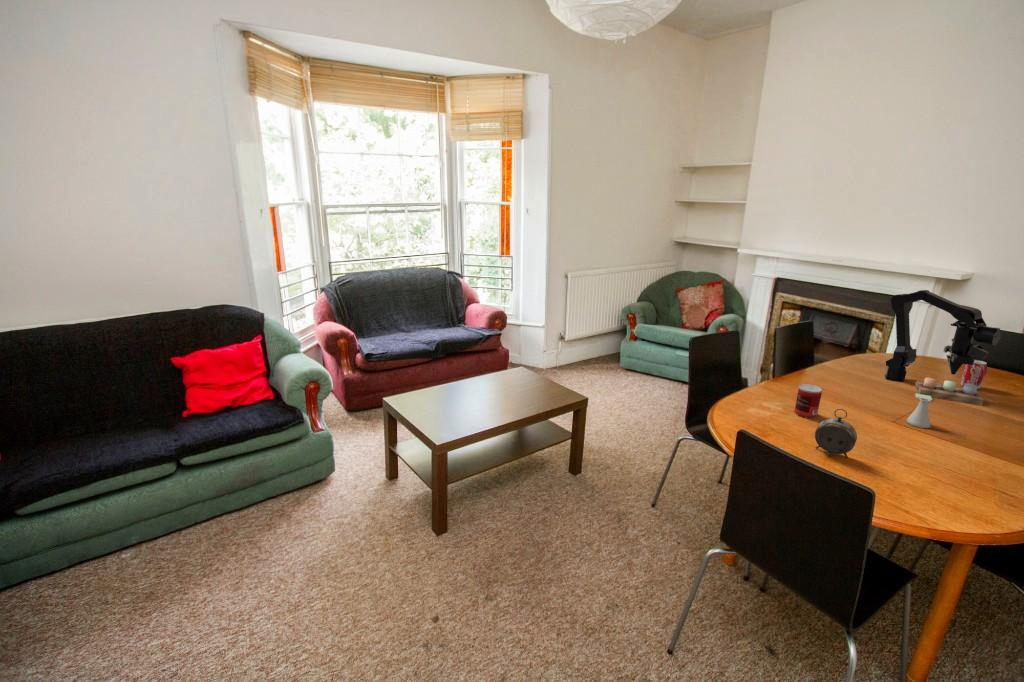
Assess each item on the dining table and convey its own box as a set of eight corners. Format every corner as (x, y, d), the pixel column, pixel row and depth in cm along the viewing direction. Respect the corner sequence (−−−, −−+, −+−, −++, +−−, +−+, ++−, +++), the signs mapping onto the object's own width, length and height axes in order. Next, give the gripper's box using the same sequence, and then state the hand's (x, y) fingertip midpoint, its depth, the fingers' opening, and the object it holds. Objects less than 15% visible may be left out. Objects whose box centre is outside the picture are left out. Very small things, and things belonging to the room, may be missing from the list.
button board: (919, 394, 207) (920, 389, 206) (914, 386, 217) (916, 380, 216) (981, 405, 197) (983, 399, 197) (974, 395, 207) (975, 390, 206)
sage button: (942, 392, 206) (945, 382, 205) (940, 389, 209) (943, 379, 208) (955, 394, 204) (957, 384, 203) (952, 391, 207) (955, 381, 206)
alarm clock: (852, 457, 157) (863, 411, 152) (849, 464, 153) (860, 416, 148) (813, 446, 163) (823, 401, 159) (810, 452, 160) (819, 406, 155)
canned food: (815, 412, 189) (820, 385, 186) (818, 420, 182) (823, 393, 179) (793, 408, 192) (798, 382, 189) (794, 416, 185) (800, 389, 182)
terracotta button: (923, 388, 209) (925, 379, 208) (921, 386, 212) (924, 376, 211) (935, 390, 207) (937, 381, 206) (933, 387, 210) (936, 378, 209)
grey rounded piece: (962, 395, 203) (965, 385, 202) (960, 392, 206) (963, 382, 205) (975, 397, 201) (978, 387, 200) (973, 394, 204) (976, 384, 203)
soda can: (985, 390, 213) (993, 364, 210) (969, 390, 213) (977, 364, 210) (971, 384, 220) (978, 359, 216) (955, 384, 220) (962, 359, 216)
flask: (925, 421, 182) (932, 397, 179) (934, 430, 176) (941, 404, 173) (902, 418, 185) (909, 394, 182) (910, 427, 178) (917, 401, 175)
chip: (916, 398, 203) (917, 397, 203) (915, 394, 208) (915, 393, 207) (932, 401, 201) (932, 399, 201) (930, 397, 205) (930, 395, 205)
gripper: (996, 347, 188) (984, 385, 193) (982, 336, 204) (972, 371, 208) (958, 342, 194) (948, 379, 198) (948, 332, 209) (938, 366, 214)
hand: (952, 374), depth 205 cm, fingers closed
